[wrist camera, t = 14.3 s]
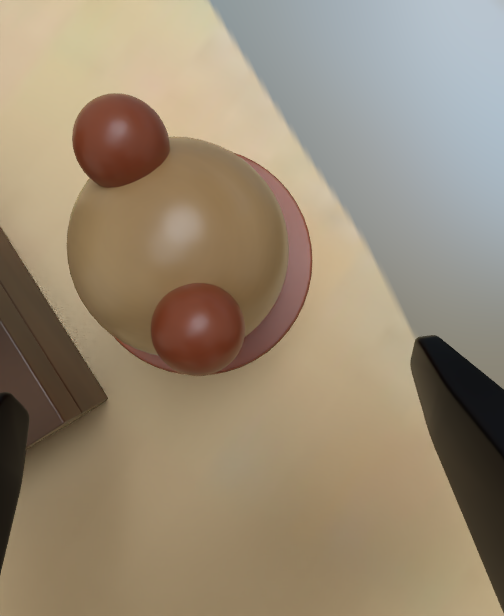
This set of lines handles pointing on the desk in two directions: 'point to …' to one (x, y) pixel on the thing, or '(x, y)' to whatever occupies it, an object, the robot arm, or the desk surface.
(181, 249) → the wooden toy
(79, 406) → the brown l-shaped bookend
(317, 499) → the desk surface
